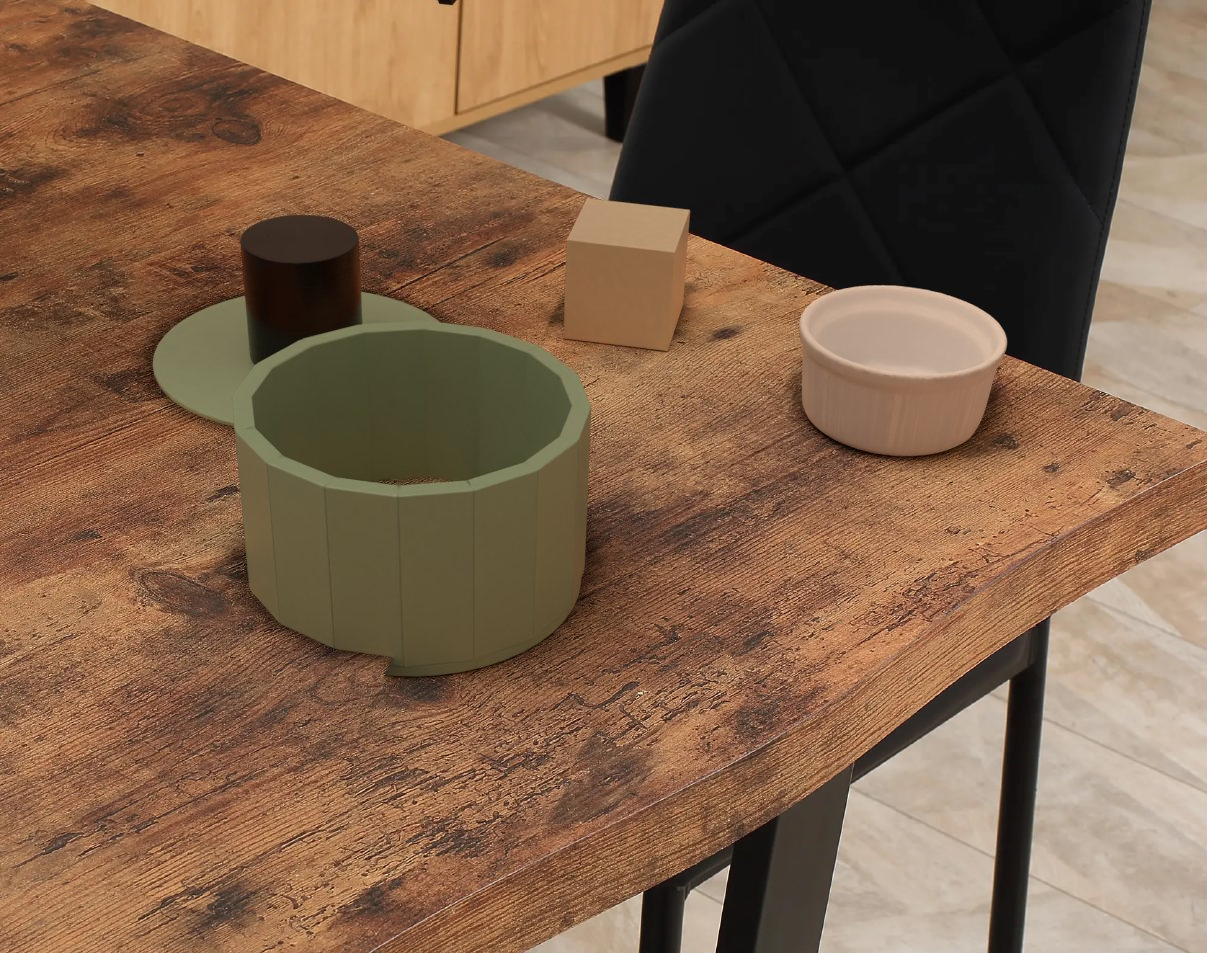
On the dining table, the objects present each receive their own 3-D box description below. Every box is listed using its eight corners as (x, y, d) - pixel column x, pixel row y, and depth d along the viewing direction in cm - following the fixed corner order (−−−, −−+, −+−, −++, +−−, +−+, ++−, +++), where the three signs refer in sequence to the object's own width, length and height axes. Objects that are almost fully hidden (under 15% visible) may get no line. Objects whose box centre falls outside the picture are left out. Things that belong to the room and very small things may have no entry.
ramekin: (753, 423, 76) (762, 334, 73) (846, 350, 82) (858, 265, 79) (938, 489, 72) (955, 397, 69) (1021, 407, 78) (1039, 320, 75)
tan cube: (563, 338, 81) (566, 239, 79) (583, 293, 85) (586, 198, 83) (667, 351, 81) (675, 252, 78) (683, 305, 85) (690, 209, 82)
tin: (199, 649, 61) (178, 466, 57) (310, 471, 71) (299, 304, 66) (543, 700, 59) (548, 516, 55) (607, 510, 69) (616, 343, 65)
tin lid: (105, 429, 73) (85, 285, 69) (219, 294, 84) (206, 164, 80) (413, 470, 71) (409, 325, 67) (488, 327, 82) (489, 195, 78)
